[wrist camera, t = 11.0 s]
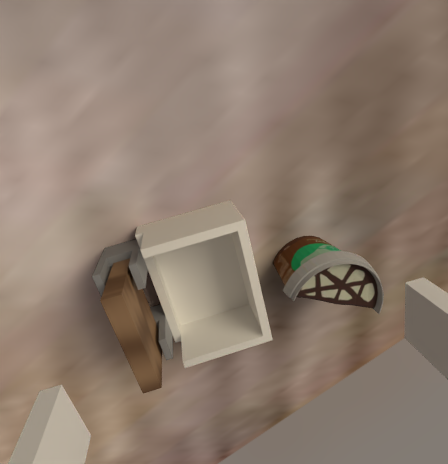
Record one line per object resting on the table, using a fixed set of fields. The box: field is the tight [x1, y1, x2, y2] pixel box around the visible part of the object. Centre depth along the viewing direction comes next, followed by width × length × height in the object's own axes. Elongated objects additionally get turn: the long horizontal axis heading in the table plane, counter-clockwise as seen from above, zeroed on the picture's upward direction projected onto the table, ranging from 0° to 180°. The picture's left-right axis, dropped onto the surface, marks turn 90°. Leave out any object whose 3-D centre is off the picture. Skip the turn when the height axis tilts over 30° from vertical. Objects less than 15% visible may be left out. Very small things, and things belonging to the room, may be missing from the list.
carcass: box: [92, 200, 273, 368], centre depth 39 cm, size 16×17×8 cm
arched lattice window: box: [273, 236, 384, 314], centre depth 40 cm, size 12×6×10 cm, turn 75°
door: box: [100, 259, 162, 393], centre depth 35 cm, size 12×2×8 cm, turn 14°
